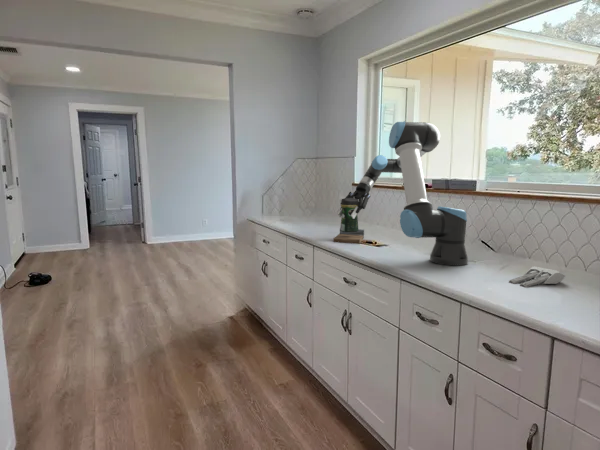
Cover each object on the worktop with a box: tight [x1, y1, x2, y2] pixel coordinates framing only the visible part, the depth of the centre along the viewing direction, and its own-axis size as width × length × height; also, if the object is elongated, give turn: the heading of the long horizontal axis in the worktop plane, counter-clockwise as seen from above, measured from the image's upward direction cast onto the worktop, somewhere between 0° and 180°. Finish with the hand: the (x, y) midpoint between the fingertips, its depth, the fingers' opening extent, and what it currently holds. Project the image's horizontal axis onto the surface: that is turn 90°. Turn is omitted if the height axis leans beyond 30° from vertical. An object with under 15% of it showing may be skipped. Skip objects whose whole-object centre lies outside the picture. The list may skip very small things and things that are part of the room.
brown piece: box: [332, 228, 365, 245], centre depth 211 cm, size 20×14×5 cm
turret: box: [508, 265, 566, 288], centre depth 132 cm, size 10×20×5 cm, turn 111°
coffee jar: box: [339, 197, 359, 232], centre depth 208 cm, size 10×8×19 cm
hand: (345, 216), depth 206 cm, fingers closed on coffee jar, 9 cm apart
